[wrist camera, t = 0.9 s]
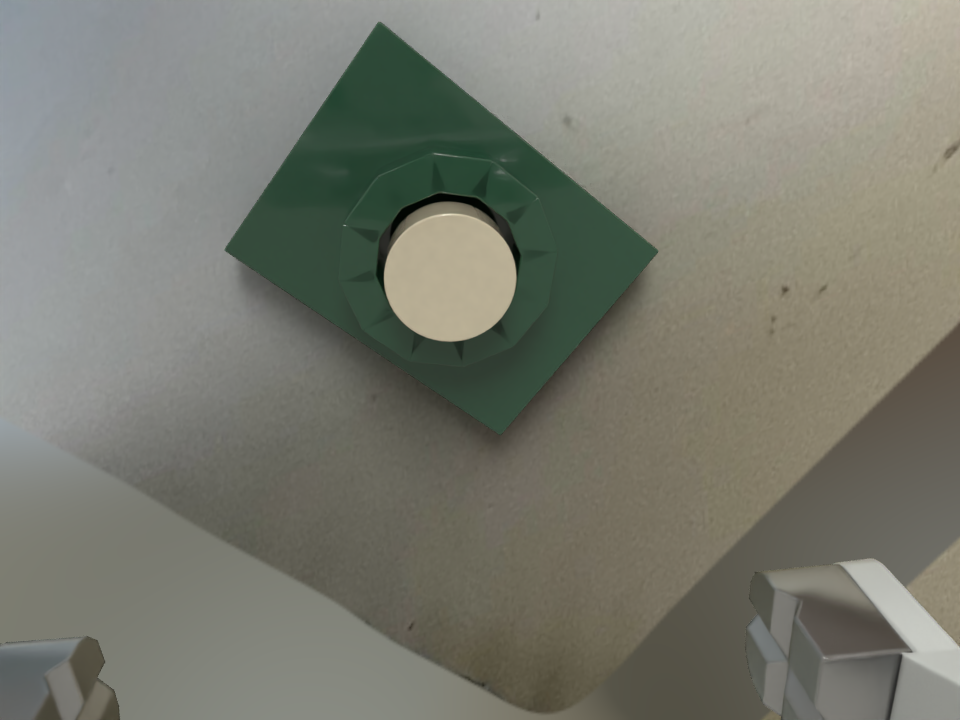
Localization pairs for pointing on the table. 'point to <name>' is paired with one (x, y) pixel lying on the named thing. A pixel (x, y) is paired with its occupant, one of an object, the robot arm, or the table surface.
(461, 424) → the table surface
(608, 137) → the table surface
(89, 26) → the table surface
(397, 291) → the cream short cylinder
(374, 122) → the green peg board
